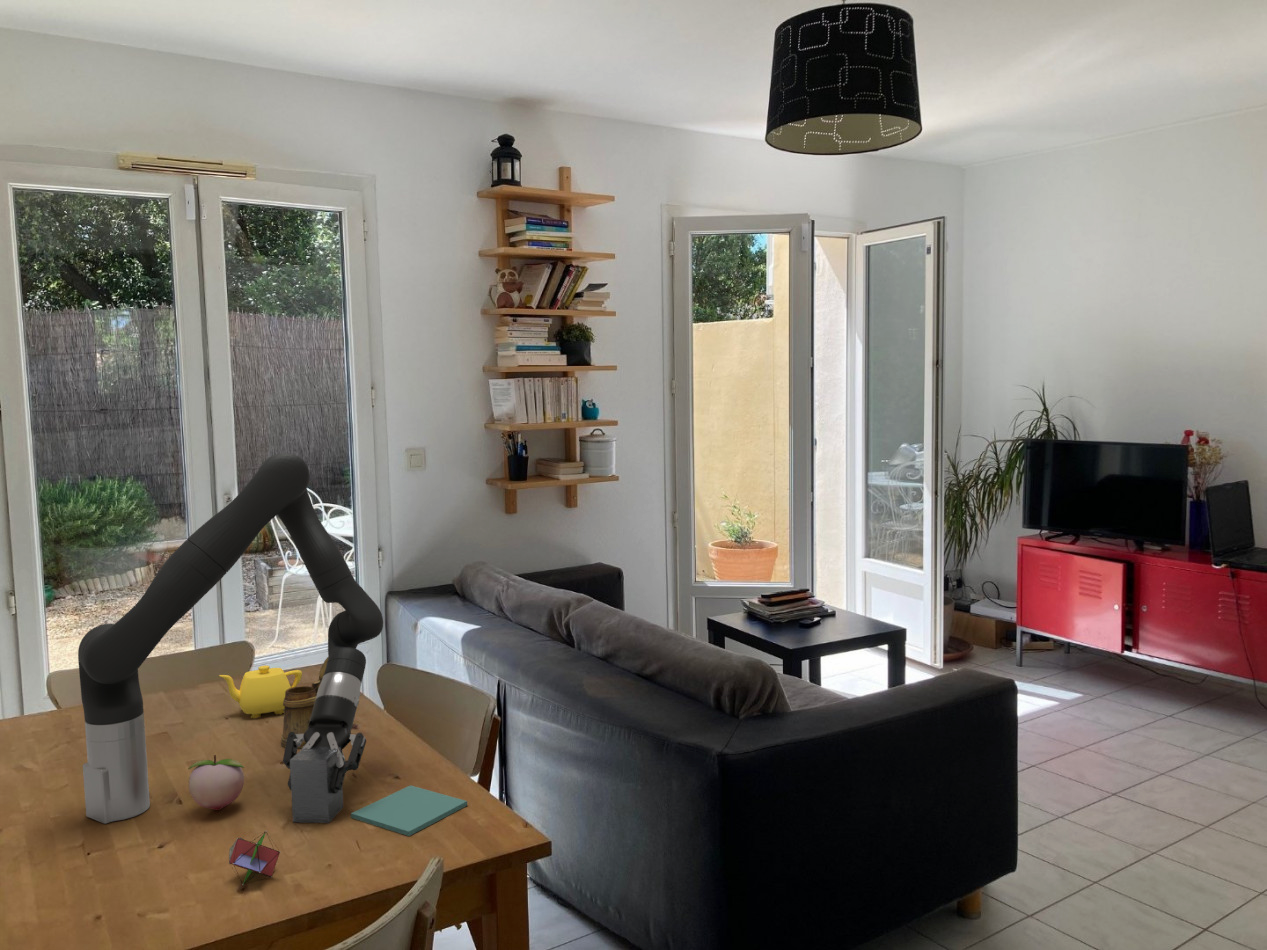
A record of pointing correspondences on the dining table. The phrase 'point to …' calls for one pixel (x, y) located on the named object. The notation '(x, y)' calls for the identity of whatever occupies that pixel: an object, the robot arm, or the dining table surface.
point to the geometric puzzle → (253, 857)
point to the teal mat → (409, 810)
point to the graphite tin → (314, 785)
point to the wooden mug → (300, 707)
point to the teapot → (262, 690)
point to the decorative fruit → (216, 782)
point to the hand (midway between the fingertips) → (313, 791)
